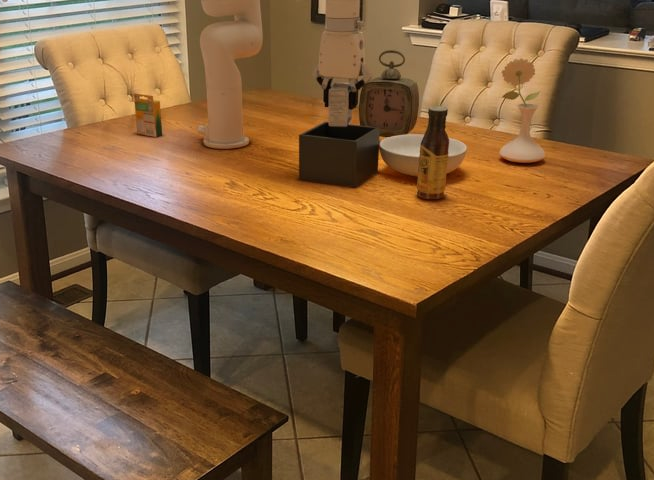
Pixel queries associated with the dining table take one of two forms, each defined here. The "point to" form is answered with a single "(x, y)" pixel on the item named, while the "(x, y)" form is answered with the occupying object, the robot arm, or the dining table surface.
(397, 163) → the serving bowl
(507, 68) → the flower in vase
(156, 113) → the crayon box
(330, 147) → the open-top storage bin
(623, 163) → the dining table surface
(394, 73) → the tabletop clock
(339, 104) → the medicine box
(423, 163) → the sauce bottle
